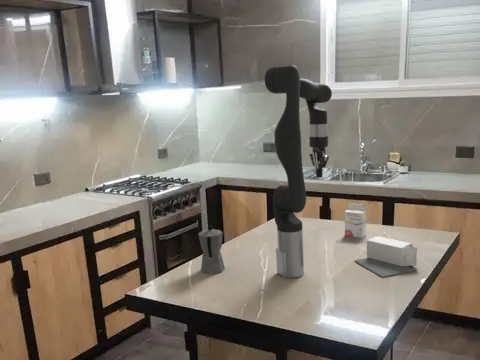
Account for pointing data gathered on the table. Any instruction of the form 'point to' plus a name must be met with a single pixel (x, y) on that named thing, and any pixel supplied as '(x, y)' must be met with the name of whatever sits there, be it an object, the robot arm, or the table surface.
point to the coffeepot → (211, 251)
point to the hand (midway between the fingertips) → (319, 177)
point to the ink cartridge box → (355, 220)
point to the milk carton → (392, 251)
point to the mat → (383, 267)
